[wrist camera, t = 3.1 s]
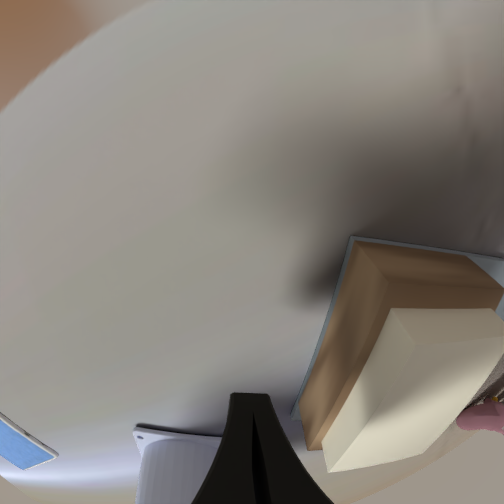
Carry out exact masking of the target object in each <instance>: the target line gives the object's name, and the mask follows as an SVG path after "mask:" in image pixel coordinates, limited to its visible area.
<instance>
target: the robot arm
mask: <svg viewBox="0 0 504 504" xmlns="http://www.w3.org/2000/svg"><path fill="white" fill-rule="evenodd" d="M133 435H134V438H135V441H136V444H137V446H138V449H139V452H140V455H141V457H142V463H141V468H140V474H139V480H138V487H137V493H136V499H135V504H334V503H333V502H332V501H331V500H330V499H329V498H328V497H327V496H326V495H325V493H324V492H323V491H322V490H321V489H320V487H319V486H318V485H317V484H316V482H315V481H314V480H313V478H312V477H311V476H310V474H309V473H308V472H307V470H306V469H305V467H304V466H303V464H302V463H301V461H300V460H299V458H298V456H297V455H296V453H295V451H294V450H293V448H292V446H291V444H290V442H289V441H288V439H287V437H286V435H285V433H284V431H283V429H282V427H281V425H280V422H279V420H278V418H277V415H276V413H275V410H274V408H273V405H272V402H271V399H270V396H269V395H268V394H258V393H236V392H234V393H232V394H230V402H229V409H228V416H227V423H226V427H225V430H224V433H223V436H222V437H210V436H199V435H189V434H180V433H172V432H165V431H158V430H152V429H146V428H140V427H135V428H134V429H133Z"/></svg>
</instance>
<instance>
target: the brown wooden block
mask: <svg viewBox="0 0 504 504" xmlns="http://www.w3.org/2000/svg"><path fill="white" fill-rule="evenodd" d="M503 294H504V288H503V287H502V286H501V285H500V284H499V283H498V282H497V281H496V280H494V279H493V278H492V277H491V276H490V275H489V274H487V273H486V272H485V271H484V270H483V269H482V268H480V267H479V266H478V265H477V264H476V263H474V262H473V261H472V260H471V259H469V258H468V257H467V256H466V255H459V254H452V253H445V252H439V251H432V250H425V249H417V248H410V247H403V246H395V245H388V244H380V243H373V242H365V241H357V240H354V243H353V246H352V250H351V253H350V257H349V261H348V264H347V267H346V271H345V274H344V278H343V281H342V284H341V287H340V291H339V294H338V297H337V300H336V303H335V306H334V309H333V312H332V316H331V319H330V321H329V324H328V327H327V330H326V333H325V336H324V339H323V342H322V344H321V347H320V350H319V353H318V355H317V358H316V361H315V364H314V366H313V369H312V371H311V374H310V377H309V379H308V382H307V383H306V386H305V388H304V392H303V393H302V395H301V398H300V401H299V402H298V405H299V410H300V415H301V420H302V425H303V430H304V436H305V441H306V446H307V451H312V450H323V447H322V443H321V442H322V440H323V438H324V437H325V435H326V434H327V432H328V430H329V429H330V427H331V426H332V424H333V422H334V421H335V419H336V417H337V416H338V414H339V412H340V410H341V409H342V407H343V405H344V403H345V402H346V400H347V398H348V396H349V394H350V393H351V391H352V389H353V387H354V385H355V383H356V381H357V380H358V378H359V376H360V374H361V372H362V370H363V368H364V366H365V364H366V362H367V360H368V358H369V356H370V354H371V352H372V350H373V347H374V345H375V343H376V341H377V339H378V337H379V335H380V332H381V330H382V328H383V326H384V323H385V321H386V319H387V316H388V314H389V312H390V309H391V308H416V309H479V308H491V309H492V310H493V311H494V312H495V311H496V309H497V307H498V305H499V303H500V301H501V298H502V296H503Z"/></svg>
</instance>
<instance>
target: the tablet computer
mask: <svg viewBox="0 0 504 504" xmlns="http://www.w3.org/2000/svg"><path fill="white" fill-rule="evenodd" d="M0 455H1V456H2V457H4V458H5V459H6V460H8V461H9V462H11V463H12V464H14V465H15V466H17V467H19V468H20V469H22V470H27V469H30V468H33V467H35V466H38V465H41V464H43V463H46V462H48V461H50V460H53V459H56V458H57V457H58V453H57V452H55V451H54V450H52V449H51V448H49V447H47V446H46V445H44V444H42V443H41V442H40V441H38V440H37V439H35V438H34V437H32V436H31V435H29V434H28V433H26V432H25V431H24V430H22V429H21V428H20V427H18V426H17V425H15V424H14V423H13V422H12V421H10V420H9V419H8V418H6V417H5V416H4V415H3V414H1V413H0Z"/></svg>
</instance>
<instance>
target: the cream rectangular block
mask: <svg viewBox="0 0 504 504" xmlns="http://www.w3.org/2000/svg"><path fill="white" fill-rule="evenodd" d="M503 354H504V321H503V320H502V319H501V318H500V317H499V316H498V315H497V314H496V313H495V312H494V311H493V310H492V309H491V308H479V309H416V308H391V309H390V312H389V314H388V316H387V319H386V321H385V323H384V326H383V328H382V330H381V332H380V335H379V337H378V339H377V341H376V343H375V345H374V347H373V350H372V352H371V354H370V356H369V358H368V360H367V362H366V364H365V366H364V368H363V370H362V372H361V374H360V376H359V378H358V380H357V381H356V383H355V385H354V387H353V389H352V391H351V393H350V394H349V396H348V398H347V400H346V402H345V403H344V405H343V407H342V409H341V410H340V412H339V414H338V416H337V417H336V419H335V421H334V422H333V424H332V426H331V427H330V429H329V430H328V432H327V434H326V435H325V437H324V438H323V440H322V442H321V443H322V447H323V452H324V456H325V461H326V465H327V470H328V473H330V472H338V471H345V470H351V469H357V468H363V467H368V466H373V465H378V464H383V463H388V462H392V461H396V460H400V459H404V458H408V457H412V456H415V455H419V454H422V453H423V452H424V451H425V450H426V449H427V448H428V447H429V446H430V445H431V444H432V443H433V442H434V441H435V440H436V439H437V438H438V437H439V436H440V435H441V434H442V433H443V432H444V431H445V430H446V428H447V427H448V426H449V425H450V424H451V423H452V422H453V421H454V419H455V418H456V417H457V416H458V415H459V414H460V412H461V411H462V410H463V409H464V408H465V406H466V405H467V404H468V403H469V401H470V400H471V399H472V398H473V396H474V395H475V394H476V392H477V391H478V390H479V389H480V387H481V386H482V384H483V383H484V382H485V380H486V379H487V378H488V376H489V375H490V373H491V372H492V370H493V369H494V367H495V366H496V364H497V363H498V361H499V360H500V358H501V357H502V355H503Z"/></svg>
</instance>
